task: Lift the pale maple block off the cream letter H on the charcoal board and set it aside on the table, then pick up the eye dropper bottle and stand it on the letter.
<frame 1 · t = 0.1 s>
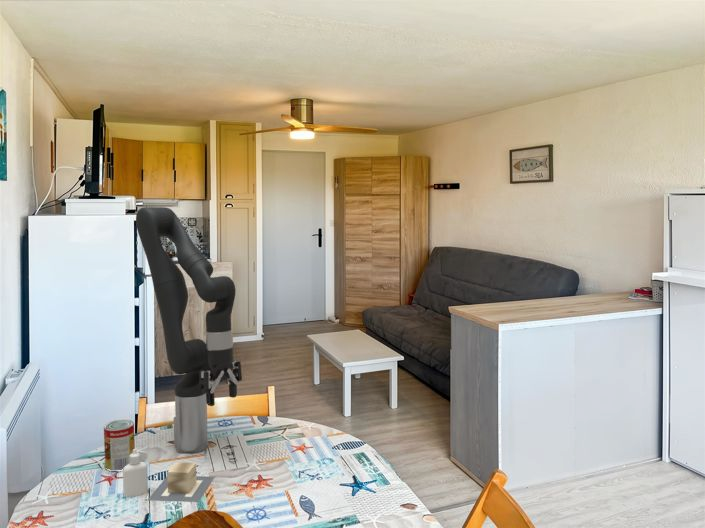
hand: (222, 401, 157), 17 cm above the table, tool pointing down, fingers open, 8 cm apart
canned food: (120, 466, 154), on the table
eye dropper bottle: (136, 495, 138), on the table
maple block: (182, 487, 140), point 1 cm above the table, touching letter board
letter board: (182, 490, 141), on the table
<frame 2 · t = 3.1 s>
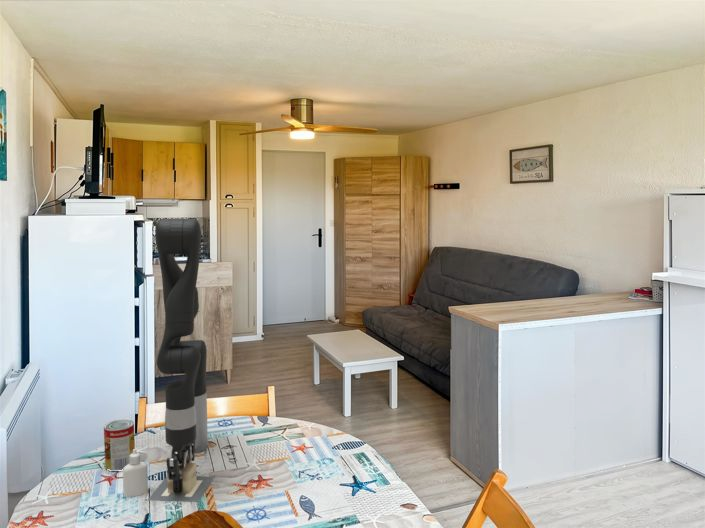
hand: (182, 486, 140), 1 cm above the table, tool pointing down, fingers closed on maple block, 5 cm apart
maple block: (182, 487, 140), point 1 cm above the table, touching gripper, letter board
everything else where it was.
when the fingers open (2 cm above the table, at t = 9.1 s): maple block drops 1 cm, on the table.
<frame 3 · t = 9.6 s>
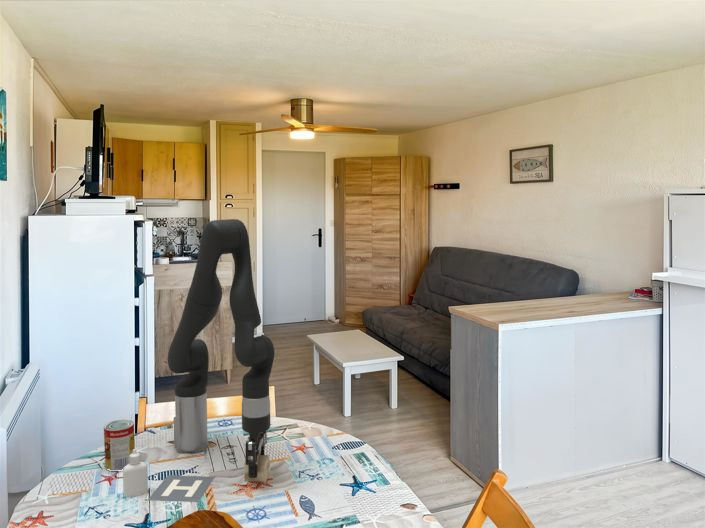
hand: (256, 469, 147), 2 cm above the table, tool pointing down, fingers open, 8 cm apart
maple block: (257, 479, 147), on the table
everything else where it was.
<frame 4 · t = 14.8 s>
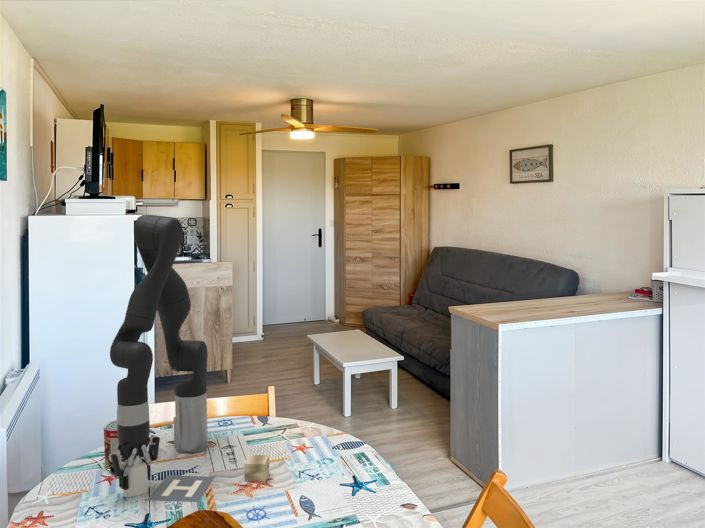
hand: (135, 483, 138), 3 cm above the table, tool pointing down, fingers closed on eye dropper bottle, 5 cm apart
eye dropper bottle: (136, 495, 138), on the table, touching gripper
everything else where it was.
when the fingers open (5 cm above the table, at t = 21.1 s): eye dropper bottle drops 1 cm, resting on letter board.
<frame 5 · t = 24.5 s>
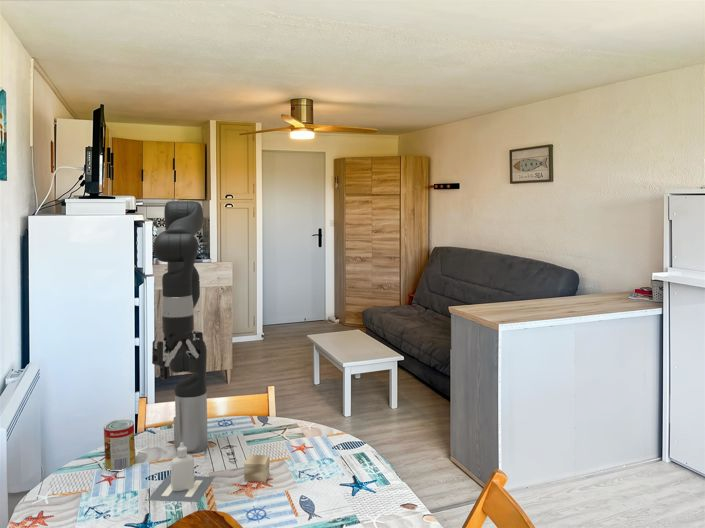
hand: (179, 376, 138), 30 cm above the table, tool pointing down, fingers open, 8 cm apart
eye dropper bottle: (182, 488, 141), resting on letter board
everything else where it was.
at the end: eye dropper bottle 0.1 cm off-centre on the letter board, point 0.4 cm above the letter board's base; eye dropper bottle tilted 0°; maple block inside the target area (0.1 cm from its centre), on the table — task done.
